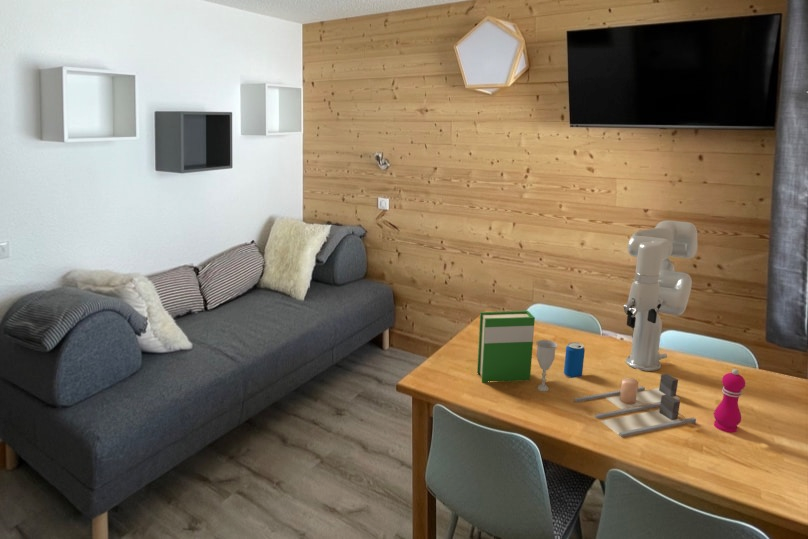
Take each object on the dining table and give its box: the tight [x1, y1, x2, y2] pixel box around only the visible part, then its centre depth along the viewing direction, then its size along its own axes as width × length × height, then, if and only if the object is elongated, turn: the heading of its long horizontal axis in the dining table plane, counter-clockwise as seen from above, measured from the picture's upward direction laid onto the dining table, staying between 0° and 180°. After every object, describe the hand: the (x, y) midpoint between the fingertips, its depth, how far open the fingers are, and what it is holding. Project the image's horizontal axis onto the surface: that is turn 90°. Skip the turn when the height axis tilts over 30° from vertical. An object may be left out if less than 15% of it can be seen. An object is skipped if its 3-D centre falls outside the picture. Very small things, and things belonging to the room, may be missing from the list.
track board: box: [573, 385, 697, 438], centre depth 177 cm, size 28×24×2 cm
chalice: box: [536, 339, 558, 392], centre depth 189 cm, size 7×7×18 cm
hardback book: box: [476, 310, 536, 383], centre depth 199 cm, size 18×7×24 cm, turn 97°
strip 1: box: [605, 373, 681, 410], centre depth 184 cm, size 24×8×7 cm, turn 109°
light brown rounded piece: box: [619, 377, 639, 404], centre depth 182 cm, size 5×5×7 cm
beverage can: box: [563, 341, 586, 379], centre depth 202 cm, size 6×6×12 cm
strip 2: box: [600, 394, 681, 436], centre depth 170 cm, size 24×8×7 cm, turn 109°
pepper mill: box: [713, 368, 746, 434], centre depth 166 cm, size 7×7×20 cm
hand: (641, 324), depth 195 cm, fingers open, 9 cm apart
